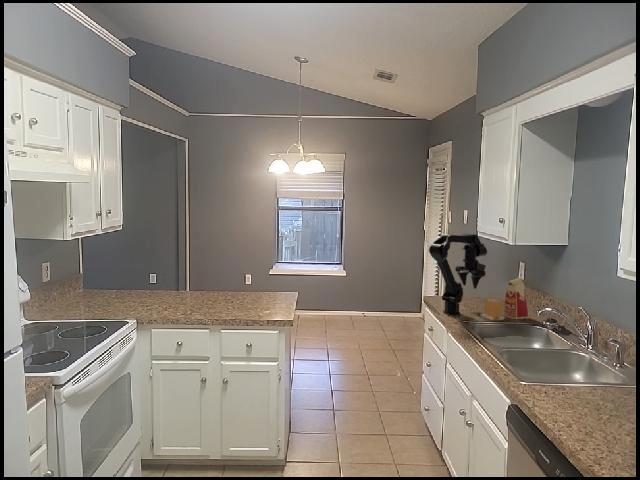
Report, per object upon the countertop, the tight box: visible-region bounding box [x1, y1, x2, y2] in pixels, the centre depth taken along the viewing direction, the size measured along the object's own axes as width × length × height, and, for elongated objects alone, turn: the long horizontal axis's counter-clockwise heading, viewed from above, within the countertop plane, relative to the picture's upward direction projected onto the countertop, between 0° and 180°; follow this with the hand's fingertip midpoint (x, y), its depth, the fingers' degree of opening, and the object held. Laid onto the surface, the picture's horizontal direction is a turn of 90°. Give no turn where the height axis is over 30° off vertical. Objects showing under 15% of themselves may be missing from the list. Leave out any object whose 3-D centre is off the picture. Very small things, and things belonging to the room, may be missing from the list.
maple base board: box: [480, 313, 506, 322], centre depth 234 cm, size 7×9×1 cm
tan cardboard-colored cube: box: [483, 298, 502, 317], centre depth 234 cm, size 6×6×8 cm
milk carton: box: [503, 276, 530, 320], centre depth 235 cm, size 9×9×20 cm
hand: (469, 286), depth 251 cm, fingers open, 9 cm apart
